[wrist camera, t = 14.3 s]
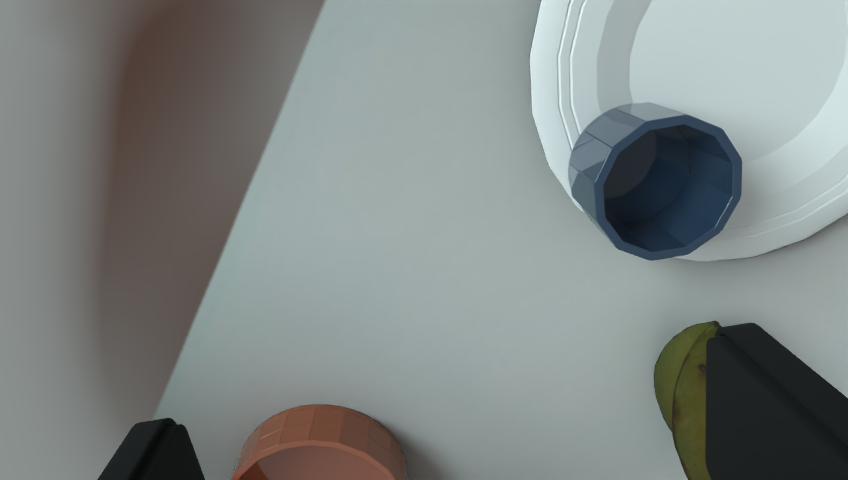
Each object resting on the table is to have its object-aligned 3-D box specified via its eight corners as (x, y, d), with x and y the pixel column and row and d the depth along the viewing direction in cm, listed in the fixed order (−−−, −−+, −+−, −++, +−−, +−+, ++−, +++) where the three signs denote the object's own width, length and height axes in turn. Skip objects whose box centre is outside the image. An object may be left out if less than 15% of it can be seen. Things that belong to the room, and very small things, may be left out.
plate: (444, 130, 36) (446, 135, 34) (710, -302, 29) (730, -323, 27) (744, 313, 41) (759, 326, 39) (1034, -17, 34) (1068, -19, 32)
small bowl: (572, 235, 37) (599, 269, 31) (562, 115, 34) (590, 130, 29) (693, 215, 36) (740, 246, 31) (692, 92, 34) (744, 104, 29)
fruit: (590, 420, 44) (620, 485, 38) (677, 288, 40) (726, 336, 34) (716, 468, 46) (764, 537, 40) (809, 346, 42) (878, 401, 36)
